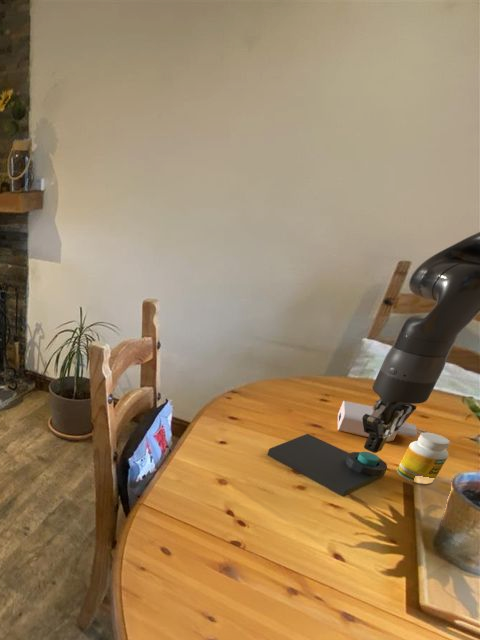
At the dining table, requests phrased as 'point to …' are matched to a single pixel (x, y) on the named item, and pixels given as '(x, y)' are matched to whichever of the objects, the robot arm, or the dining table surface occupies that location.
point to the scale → (327, 464)
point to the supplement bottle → (424, 457)
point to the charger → (353, 421)
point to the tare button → (368, 458)
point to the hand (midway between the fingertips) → (371, 449)
